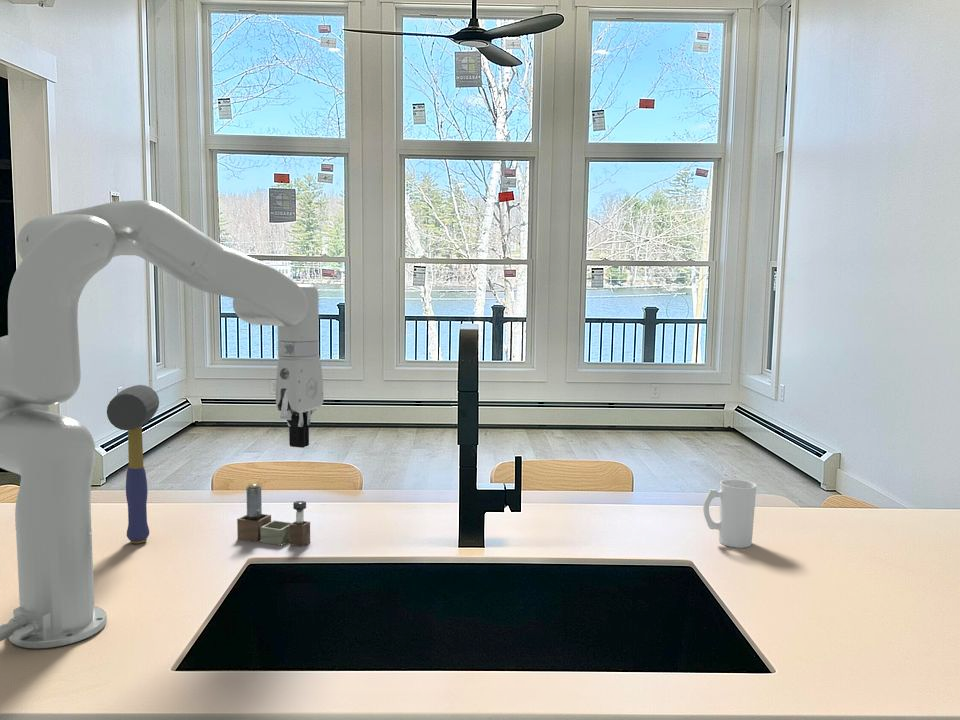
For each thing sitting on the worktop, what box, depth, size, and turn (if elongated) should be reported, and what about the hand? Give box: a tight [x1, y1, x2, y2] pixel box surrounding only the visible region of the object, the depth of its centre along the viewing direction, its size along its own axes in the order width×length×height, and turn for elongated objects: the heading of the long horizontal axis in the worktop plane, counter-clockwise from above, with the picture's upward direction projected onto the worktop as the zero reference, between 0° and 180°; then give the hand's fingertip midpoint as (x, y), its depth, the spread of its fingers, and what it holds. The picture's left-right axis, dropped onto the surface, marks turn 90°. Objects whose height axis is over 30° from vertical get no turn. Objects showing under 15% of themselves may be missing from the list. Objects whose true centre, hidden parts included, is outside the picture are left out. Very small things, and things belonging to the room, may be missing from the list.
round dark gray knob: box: [292, 500, 307, 525], centre depth 153 cm, size 2×2×6 cm
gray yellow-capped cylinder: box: [245, 482, 263, 521], centre depth 156 cm, size 3×3×11 cm
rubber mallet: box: [106, 384, 160, 544], centre depth 151 cm, size 12×8×30 cm, turn 11°
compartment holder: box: [236, 513, 311, 547], centre depth 155 cm, size 5×14×4 cm, turn 71°
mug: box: [703, 478, 757, 549], centre depth 157 cm, size 10×7×12 cm, turn 92°
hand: (299, 445), depth 151 cm, fingers closed
